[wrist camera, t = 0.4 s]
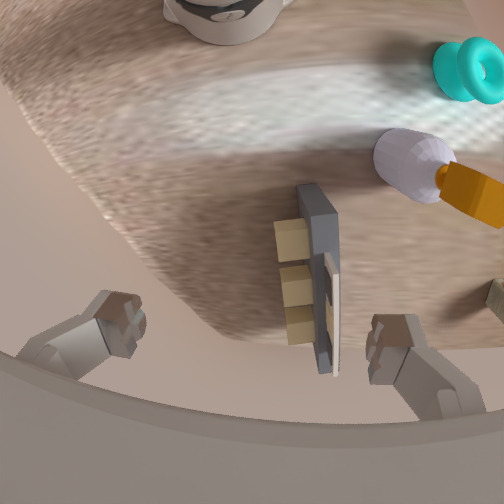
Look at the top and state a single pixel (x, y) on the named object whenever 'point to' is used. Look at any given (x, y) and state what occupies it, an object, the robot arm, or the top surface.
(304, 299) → the button mid
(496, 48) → the donuts
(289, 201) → the top surface
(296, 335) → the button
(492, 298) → the skincare box
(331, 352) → the panel
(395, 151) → the soap bottle
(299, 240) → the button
